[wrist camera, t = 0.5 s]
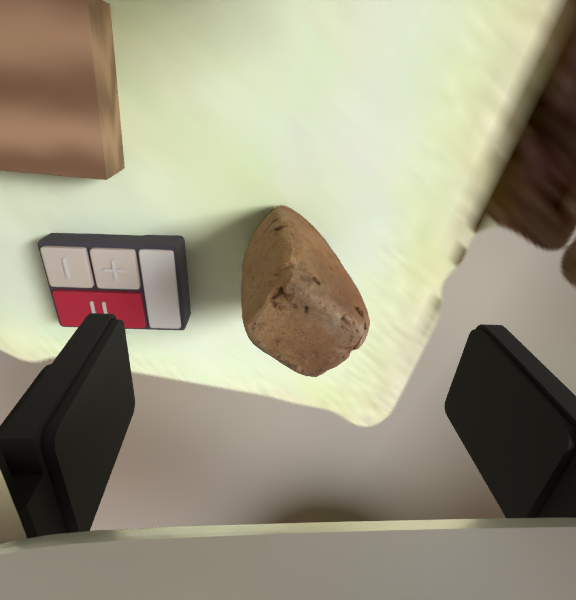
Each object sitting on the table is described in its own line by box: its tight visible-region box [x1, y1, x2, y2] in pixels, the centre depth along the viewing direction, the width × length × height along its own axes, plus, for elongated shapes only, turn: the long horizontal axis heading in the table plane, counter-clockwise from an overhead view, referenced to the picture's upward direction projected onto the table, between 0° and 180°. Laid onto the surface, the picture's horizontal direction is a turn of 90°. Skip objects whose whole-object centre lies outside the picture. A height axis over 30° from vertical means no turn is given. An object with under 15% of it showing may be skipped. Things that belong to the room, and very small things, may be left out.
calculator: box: [38, 233, 191, 330], centre depth 46 cm, size 11×4×15 cm
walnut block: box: [0, 0, 125, 180], centre depth 35 cm, size 14×14×6 cm
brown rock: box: [241, 206, 370, 377], centre depth 38 cm, size 11×8×20 cm
